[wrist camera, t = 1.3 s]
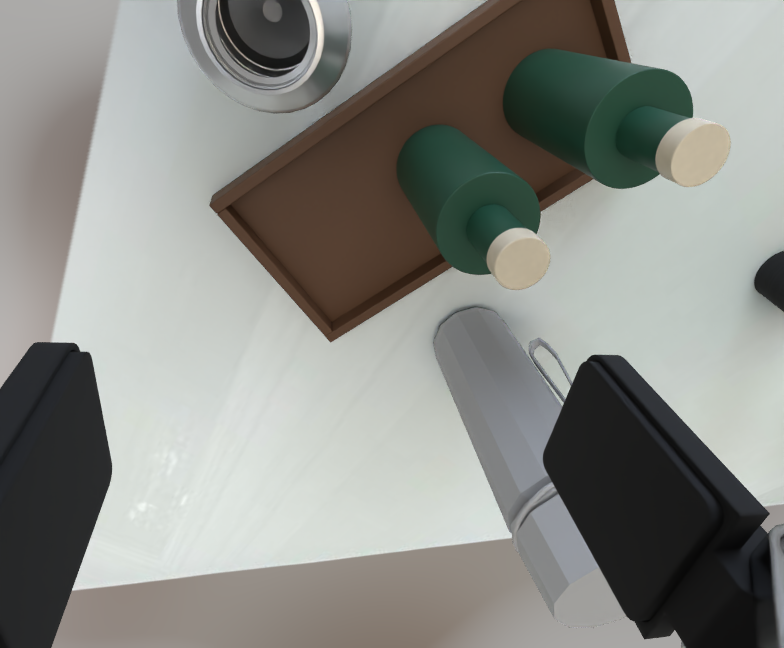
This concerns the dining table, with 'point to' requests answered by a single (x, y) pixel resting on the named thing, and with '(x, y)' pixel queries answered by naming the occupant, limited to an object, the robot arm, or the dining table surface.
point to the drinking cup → (772, 280)
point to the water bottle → (522, 459)
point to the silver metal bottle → (269, 48)
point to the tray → (380, 154)
